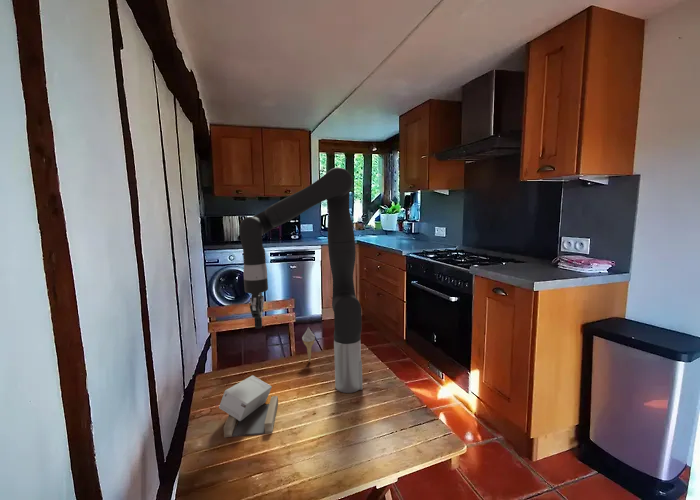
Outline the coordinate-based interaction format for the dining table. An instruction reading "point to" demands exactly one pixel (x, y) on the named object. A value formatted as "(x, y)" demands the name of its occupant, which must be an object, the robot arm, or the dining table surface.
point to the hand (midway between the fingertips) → (258, 327)
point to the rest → (253, 421)
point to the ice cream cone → (308, 341)
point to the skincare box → (245, 397)
